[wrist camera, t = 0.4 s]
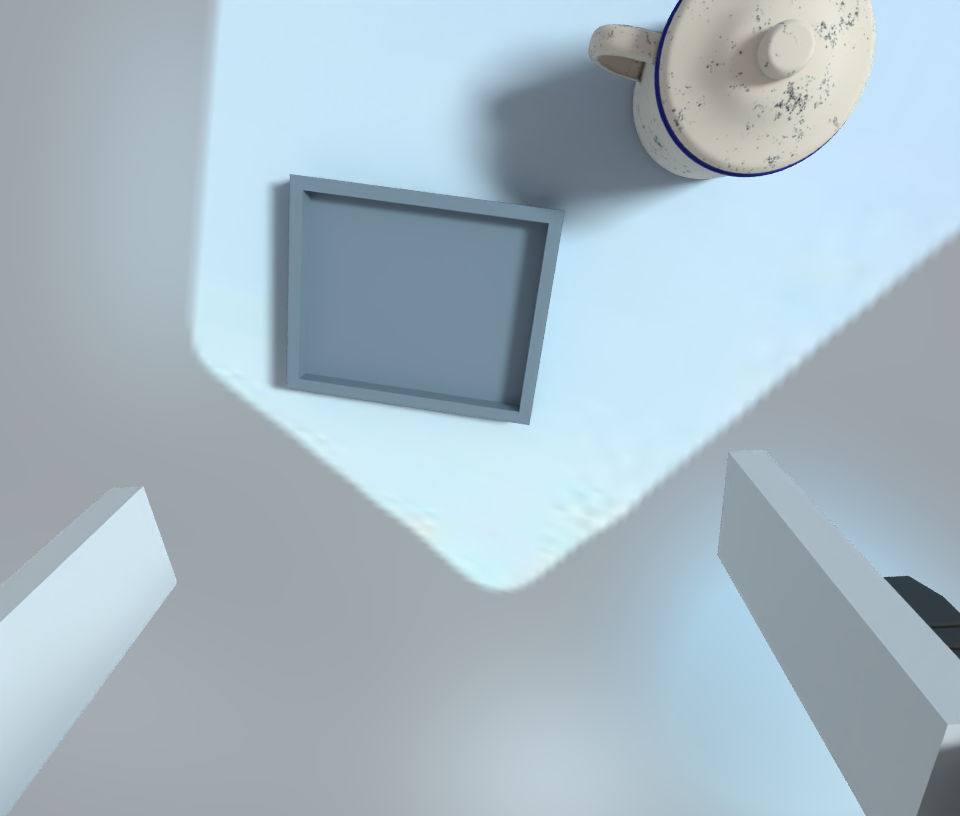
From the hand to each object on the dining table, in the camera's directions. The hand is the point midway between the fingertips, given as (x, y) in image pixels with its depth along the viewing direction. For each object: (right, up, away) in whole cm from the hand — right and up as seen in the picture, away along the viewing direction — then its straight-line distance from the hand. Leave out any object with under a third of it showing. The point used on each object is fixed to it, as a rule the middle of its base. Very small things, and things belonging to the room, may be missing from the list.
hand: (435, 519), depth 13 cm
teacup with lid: (+13, +21, +20) cm, 32 cm away
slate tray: (-3, +10, +25) cm, 27 cm away
